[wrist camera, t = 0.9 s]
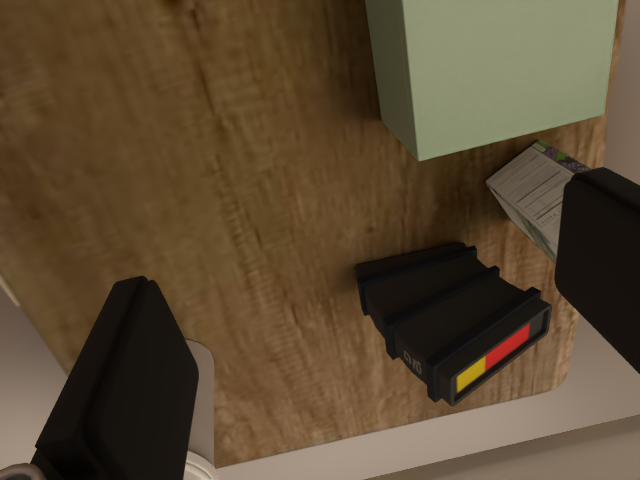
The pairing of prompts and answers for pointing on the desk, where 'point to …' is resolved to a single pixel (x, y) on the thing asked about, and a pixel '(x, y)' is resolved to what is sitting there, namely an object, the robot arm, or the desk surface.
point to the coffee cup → (202, 419)
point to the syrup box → (536, 192)
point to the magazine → (450, 317)
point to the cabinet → (487, 68)
